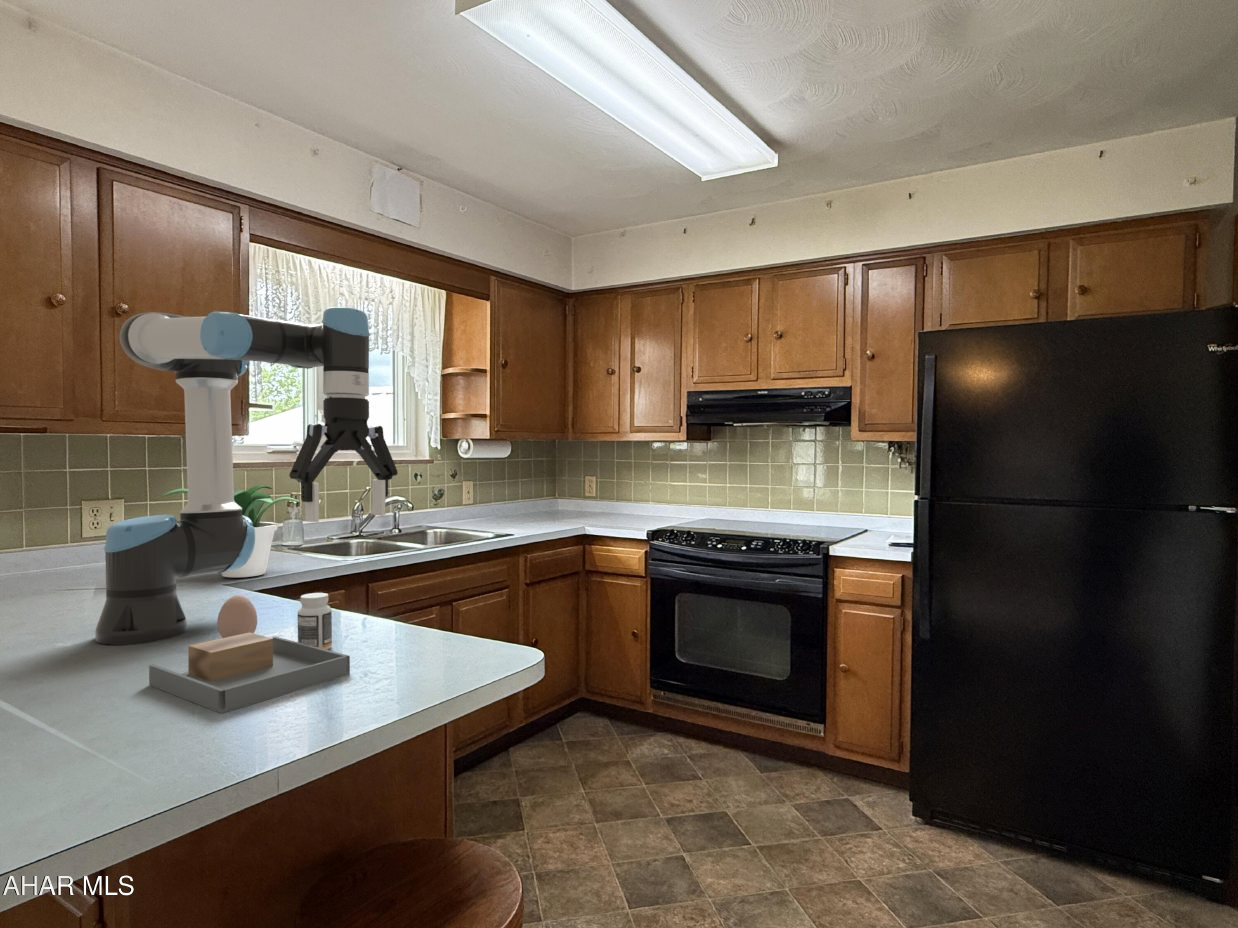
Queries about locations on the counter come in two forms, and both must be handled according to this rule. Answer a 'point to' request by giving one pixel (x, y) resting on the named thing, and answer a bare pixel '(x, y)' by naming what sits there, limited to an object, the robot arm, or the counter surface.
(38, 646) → the counter surface
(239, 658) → the brown rectangular block
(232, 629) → the egg
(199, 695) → the grey rimmed tray
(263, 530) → the potted plant
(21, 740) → the counter surface
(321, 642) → the pill bottle
